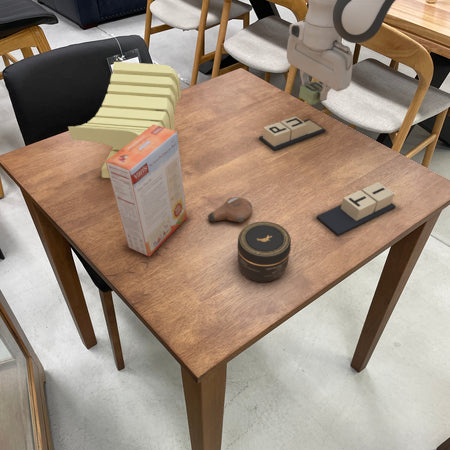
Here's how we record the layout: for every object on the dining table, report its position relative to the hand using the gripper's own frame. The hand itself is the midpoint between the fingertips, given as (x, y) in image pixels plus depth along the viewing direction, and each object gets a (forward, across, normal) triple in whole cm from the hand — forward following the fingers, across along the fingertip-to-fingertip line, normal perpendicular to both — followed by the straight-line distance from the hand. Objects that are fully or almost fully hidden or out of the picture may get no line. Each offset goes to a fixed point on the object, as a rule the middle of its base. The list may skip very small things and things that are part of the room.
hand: (313, 94), depth 111 cm
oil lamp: (+10, -19, +37) cm, 43 cm away
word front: (+10, -33, +13) cm, 37 cm away
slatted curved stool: (+10, +10, +45) cm, 48 cm away
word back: (+10, 0, +5) cm, 11 cm away
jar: (+10, -35, +40) cm, 54 cm away
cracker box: (+10, -15, +53) cm, 56 cm away
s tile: (+1, 0, 0) cm, 1 cm away
